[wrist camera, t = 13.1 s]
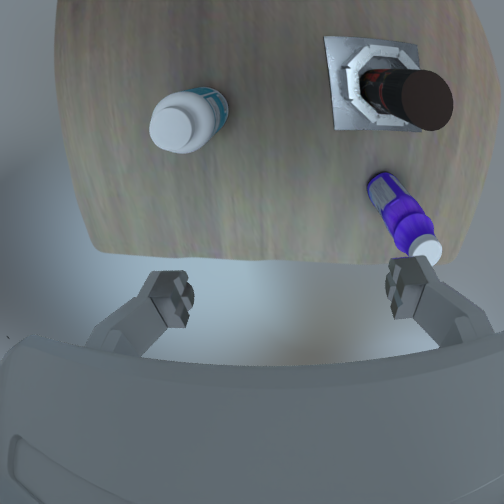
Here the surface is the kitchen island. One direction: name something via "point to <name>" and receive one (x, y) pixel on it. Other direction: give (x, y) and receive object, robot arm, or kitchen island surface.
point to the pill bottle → (188, 119)
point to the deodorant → (409, 96)
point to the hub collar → (349, 72)
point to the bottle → (404, 218)
